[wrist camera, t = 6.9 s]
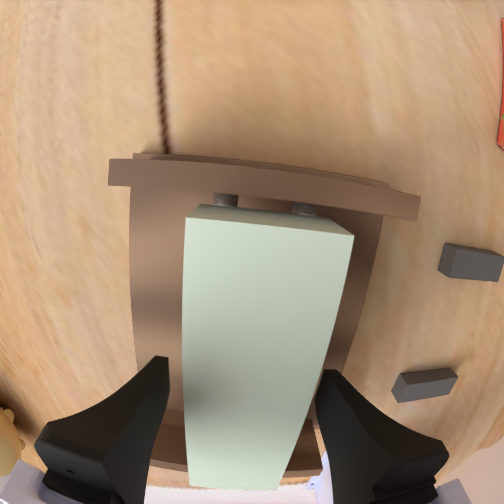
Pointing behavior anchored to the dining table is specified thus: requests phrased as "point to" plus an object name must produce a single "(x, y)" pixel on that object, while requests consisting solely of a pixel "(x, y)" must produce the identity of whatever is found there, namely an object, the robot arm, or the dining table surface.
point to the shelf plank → (254, 336)
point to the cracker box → (503, 131)
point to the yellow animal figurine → (9, 442)
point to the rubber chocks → (453, 266)
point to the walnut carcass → (172, 256)
